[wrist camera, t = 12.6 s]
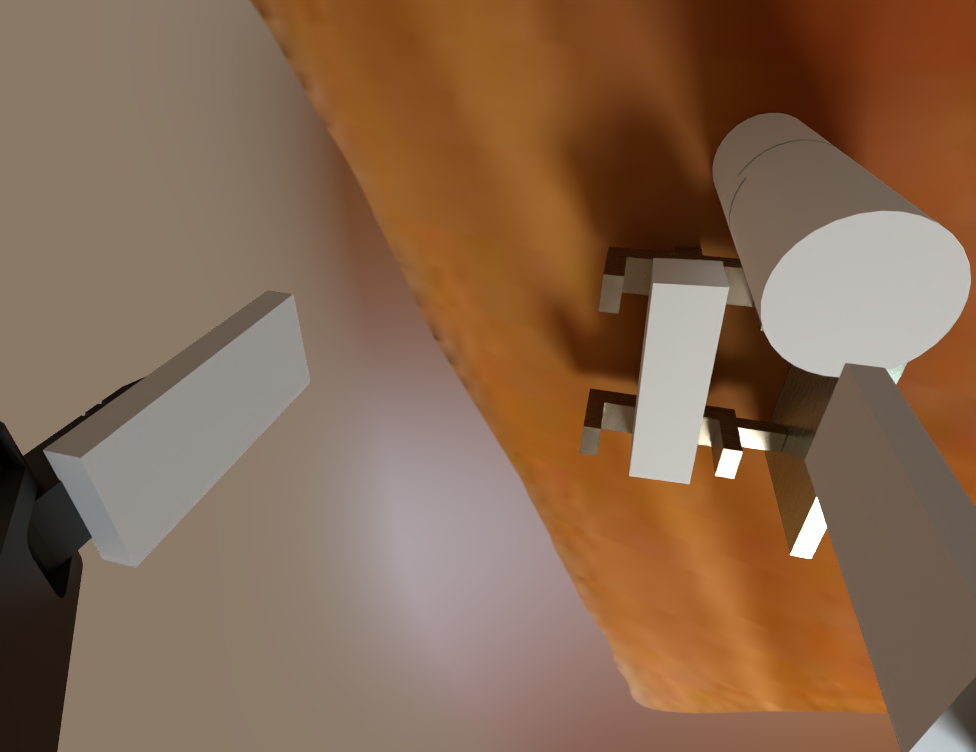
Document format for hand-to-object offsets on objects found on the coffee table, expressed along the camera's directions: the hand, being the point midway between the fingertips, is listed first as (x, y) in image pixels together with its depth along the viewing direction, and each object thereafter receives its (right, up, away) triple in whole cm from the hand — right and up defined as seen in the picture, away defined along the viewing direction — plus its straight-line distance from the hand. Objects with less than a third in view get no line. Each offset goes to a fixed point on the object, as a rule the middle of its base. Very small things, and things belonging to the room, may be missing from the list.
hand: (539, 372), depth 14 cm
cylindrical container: (+20, +16, +29) cm, 39 cm away
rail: (+14, +1, +34) cm, 37 cm away
